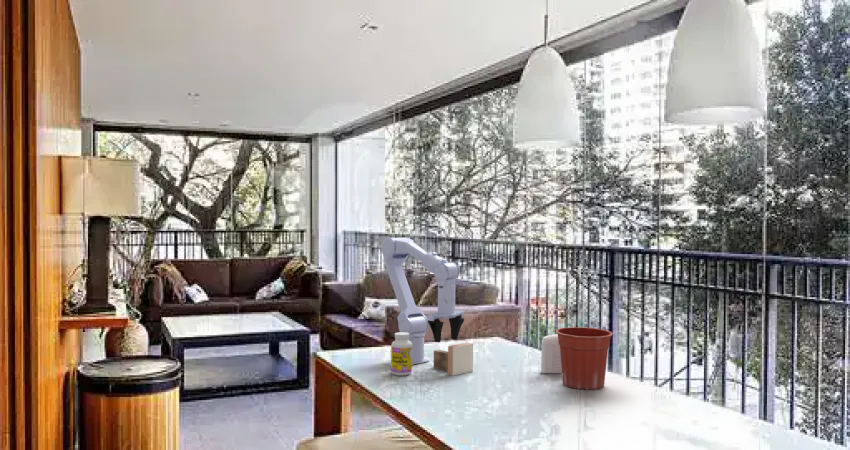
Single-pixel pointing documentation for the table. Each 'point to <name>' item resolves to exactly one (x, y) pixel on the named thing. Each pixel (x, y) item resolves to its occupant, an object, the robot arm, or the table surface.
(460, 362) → the glazed tile
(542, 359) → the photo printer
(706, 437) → the table surface
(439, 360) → the bar
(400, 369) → the supplement bottle
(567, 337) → the flower pot
